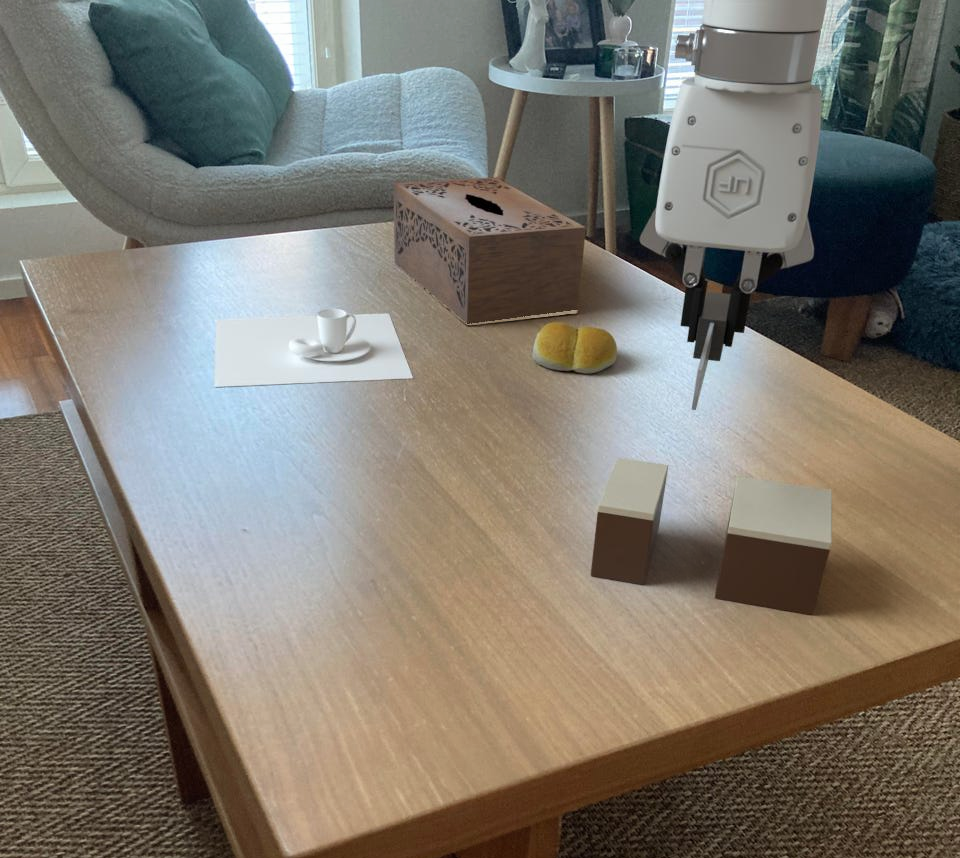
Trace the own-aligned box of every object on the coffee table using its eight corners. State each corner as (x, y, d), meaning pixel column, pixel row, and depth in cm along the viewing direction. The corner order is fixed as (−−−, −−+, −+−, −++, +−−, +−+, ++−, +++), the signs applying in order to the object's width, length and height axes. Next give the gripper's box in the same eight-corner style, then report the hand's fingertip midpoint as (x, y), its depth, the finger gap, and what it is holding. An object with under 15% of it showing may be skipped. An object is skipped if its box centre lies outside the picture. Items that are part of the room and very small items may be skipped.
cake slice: (658, 533, 82) (668, 464, 78) (643, 585, 76) (654, 513, 72) (608, 524, 83) (616, 456, 79) (590, 576, 76) (598, 504, 73)
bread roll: (614, 378, 108) (618, 341, 105) (529, 371, 108) (531, 334, 106) (617, 350, 114) (621, 314, 112) (536, 343, 115) (539, 308, 113)
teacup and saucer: (291, 367, 107) (287, 328, 105) (287, 340, 113) (284, 303, 111) (374, 363, 109) (373, 325, 106) (366, 337, 115) (365, 300, 112)
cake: (813, 559, 79) (832, 489, 76) (812, 615, 73) (832, 542, 70) (723, 544, 81) (737, 475, 77) (714, 598, 74) (728, 526, 71)
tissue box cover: (394, 263, 138) (393, 183, 132) (493, 254, 143) (496, 177, 137) (466, 326, 119) (469, 236, 113) (578, 314, 124) (585, 227, 118)
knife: (701, 329, 82) (707, 291, 80) (726, 332, 82) (733, 294, 80) (678, 408, 69) (685, 364, 67) (708, 412, 68) (716, 368, 66)
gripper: (625, 59, 65) (598, 343, 76) (886, 75, 62) (819, 369, 73) (641, 46, 71) (614, 311, 82) (880, 60, 68) (819, 334, 79)
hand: (711, 336), depth 77 cm, fingers closed on knife, 2 cm apart
